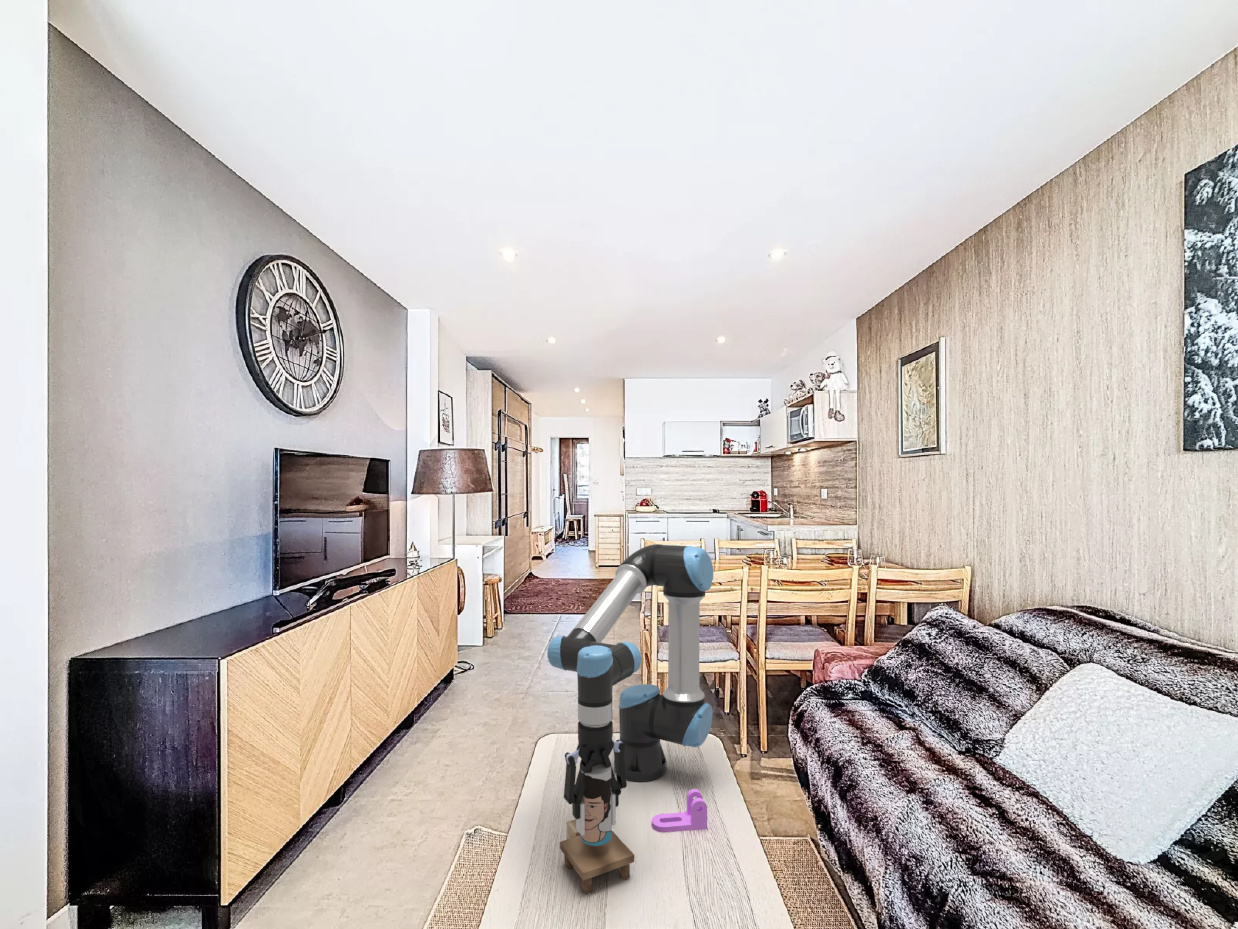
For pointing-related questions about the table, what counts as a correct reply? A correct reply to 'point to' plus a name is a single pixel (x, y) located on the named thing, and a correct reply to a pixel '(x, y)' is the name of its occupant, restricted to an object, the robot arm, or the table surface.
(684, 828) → the bracket
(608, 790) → the printed can
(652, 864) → the table surface
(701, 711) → the robot arm
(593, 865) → the stand
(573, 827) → the oak block
